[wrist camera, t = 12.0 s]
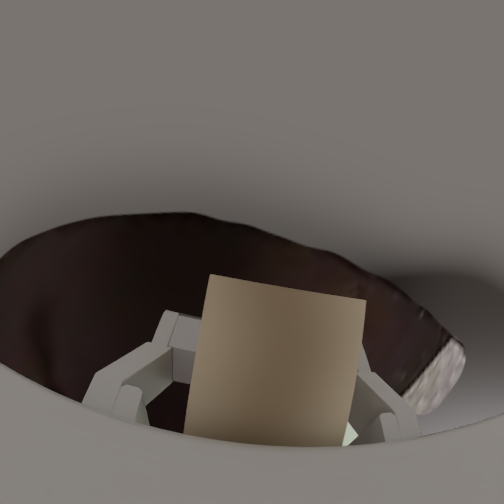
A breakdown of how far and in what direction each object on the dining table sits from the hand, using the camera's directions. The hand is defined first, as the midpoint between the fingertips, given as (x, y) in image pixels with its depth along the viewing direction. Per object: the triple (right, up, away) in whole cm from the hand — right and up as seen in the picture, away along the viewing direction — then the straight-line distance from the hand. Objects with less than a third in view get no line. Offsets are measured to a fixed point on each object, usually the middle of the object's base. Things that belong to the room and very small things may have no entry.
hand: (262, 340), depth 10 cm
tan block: (-1, -2, +4) cm, 4 cm away
